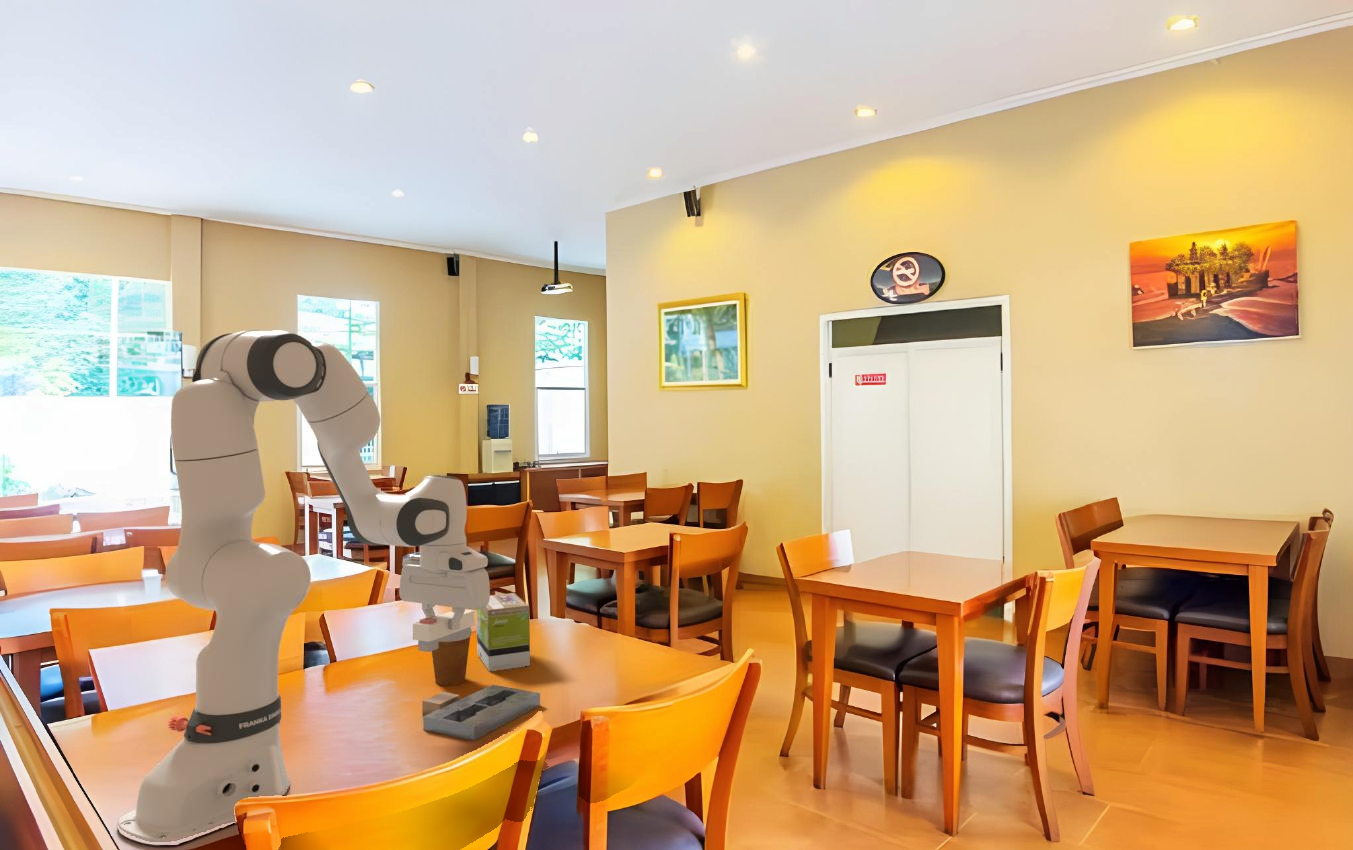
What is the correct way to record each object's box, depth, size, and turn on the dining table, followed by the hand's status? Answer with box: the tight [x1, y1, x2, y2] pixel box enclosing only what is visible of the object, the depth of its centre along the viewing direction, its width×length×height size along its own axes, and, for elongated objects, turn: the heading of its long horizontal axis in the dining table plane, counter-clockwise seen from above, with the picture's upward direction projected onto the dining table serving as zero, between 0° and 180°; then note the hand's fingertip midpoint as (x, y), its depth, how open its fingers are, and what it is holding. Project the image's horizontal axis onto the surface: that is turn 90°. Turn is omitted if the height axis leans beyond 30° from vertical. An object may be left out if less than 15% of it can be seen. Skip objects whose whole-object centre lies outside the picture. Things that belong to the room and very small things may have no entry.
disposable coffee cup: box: [431, 627, 473, 686], centre depth 176 cm, size 10×10×12 cm
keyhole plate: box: [422, 684, 541, 742], centre depth 154 cm, size 20×12×2 cm, turn 154°
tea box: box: [476, 592, 531, 672], centre depth 191 cm, size 15×10×15 cm, turn 25°
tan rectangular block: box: [421, 691, 461, 717], centre depth 156 cm, size 6×4×3 cm
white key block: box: [412, 609, 475, 653], centre depth 156 cm, size 13×4×6 cm, turn 155°
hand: (443, 627), depth 156 cm, fingers closed on white key block, 4 cm apart
